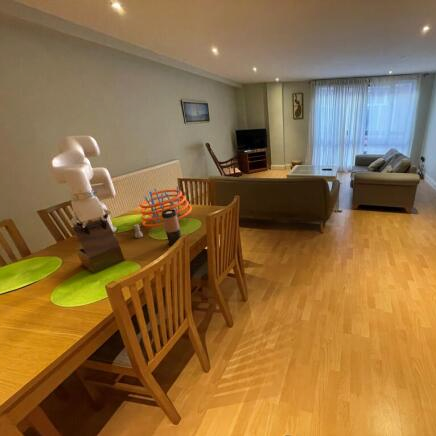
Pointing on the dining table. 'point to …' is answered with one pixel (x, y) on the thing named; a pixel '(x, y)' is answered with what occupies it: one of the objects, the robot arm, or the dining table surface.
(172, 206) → the toy basket
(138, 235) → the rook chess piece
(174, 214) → the travel mug
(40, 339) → the dining table surface
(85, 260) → the chest
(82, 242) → the lid
